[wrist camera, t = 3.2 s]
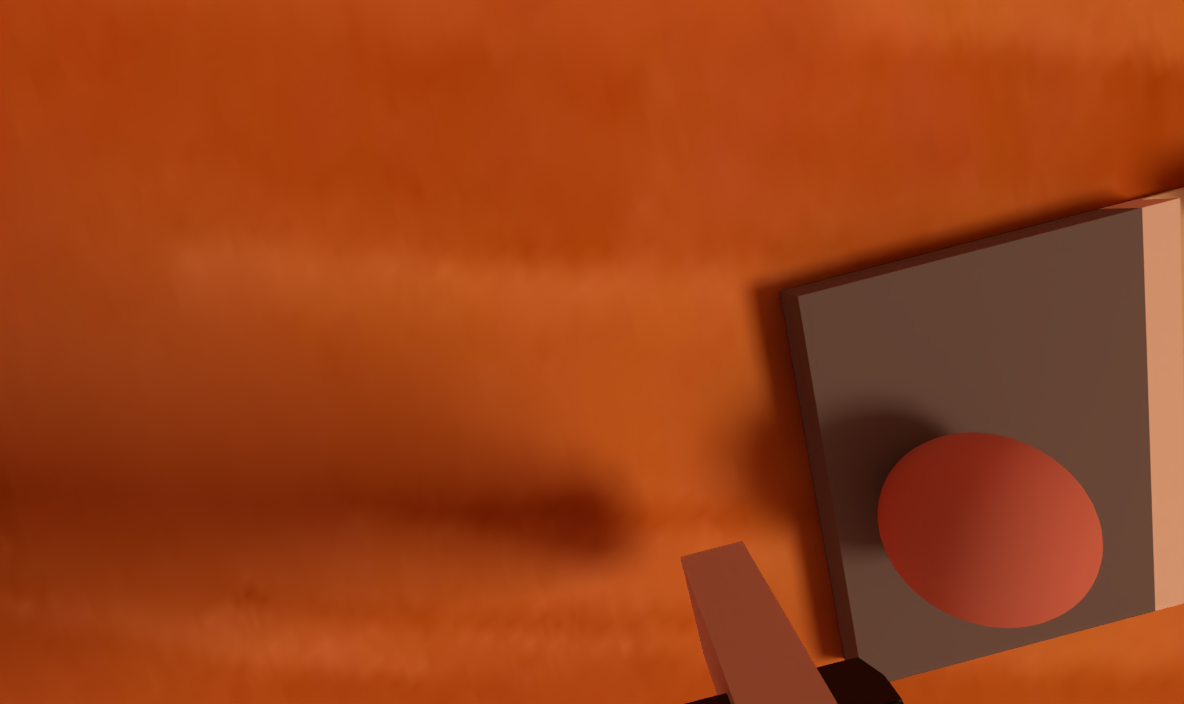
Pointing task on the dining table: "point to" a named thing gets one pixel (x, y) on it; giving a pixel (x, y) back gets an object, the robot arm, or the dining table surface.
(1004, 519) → the ball
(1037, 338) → the lane mat
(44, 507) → the dining table surface
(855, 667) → the robot arm
